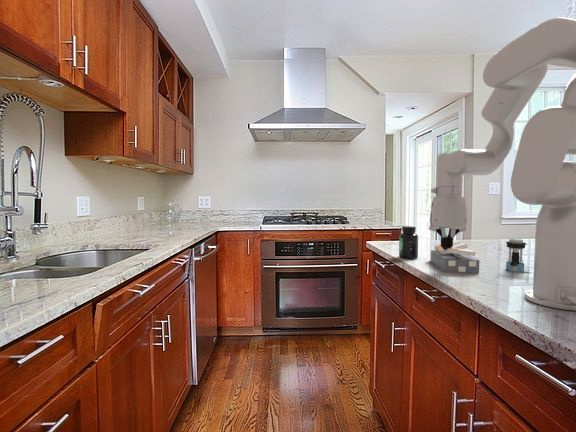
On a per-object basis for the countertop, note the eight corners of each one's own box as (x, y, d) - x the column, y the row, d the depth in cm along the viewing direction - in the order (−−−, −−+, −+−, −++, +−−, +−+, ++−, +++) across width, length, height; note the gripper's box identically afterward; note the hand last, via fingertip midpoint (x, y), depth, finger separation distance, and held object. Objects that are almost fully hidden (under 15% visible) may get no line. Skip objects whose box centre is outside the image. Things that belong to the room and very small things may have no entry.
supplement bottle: (399, 259, 127) (399, 227, 126) (398, 255, 133) (399, 225, 133) (418, 259, 125) (419, 227, 124) (417, 256, 131) (417, 226, 131)
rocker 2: (467, 247, 110) (466, 243, 110) (443, 254, 112) (441, 250, 112) (463, 245, 114) (462, 241, 114) (439, 252, 116) (438, 248, 116)
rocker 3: (474, 255, 104) (475, 251, 104) (447, 252, 106) (448, 248, 106) (470, 253, 108) (470, 249, 108) (443, 250, 110) (444, 246, 110)
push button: (529, 270, 107) (530, 239, 106) (531, 274, 102) (532, 241, 102) (504, 268, 110) (505, 238, 110) (505, 271, 106) (506, 240, 105)
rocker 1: (461, 244, 116) (460, 241, 116) (438, 251, 118) (437, 247, 118) (458, 243, 120) (456, 239, 120) (435, 249, 122) (434, 245, 122)
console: (479, 273, 103) (479, 256, 103) (444, 272, 105) (445, 255, 105) (459, 261, 121) (460, 247, 121) (430, 260, 123) (431, 246, 123)
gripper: (426, 192, 104) (424, 250, 106) (479, 192, 102) (476, 252, 103) (421, 192, 111) (419, 246, 113) (469, 192, 109) (467, 247, 110)
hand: (446, 249), depth 108 cm, fingers closed
